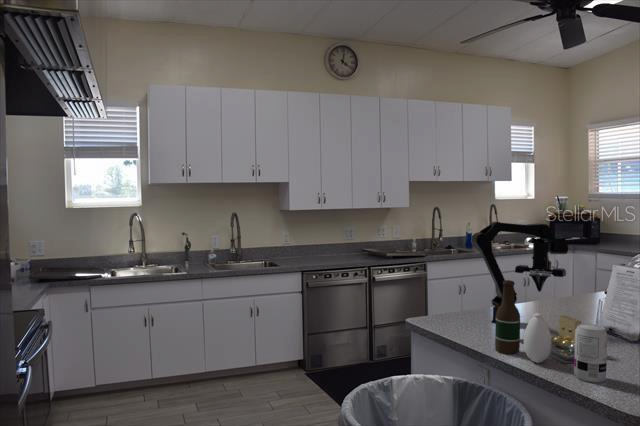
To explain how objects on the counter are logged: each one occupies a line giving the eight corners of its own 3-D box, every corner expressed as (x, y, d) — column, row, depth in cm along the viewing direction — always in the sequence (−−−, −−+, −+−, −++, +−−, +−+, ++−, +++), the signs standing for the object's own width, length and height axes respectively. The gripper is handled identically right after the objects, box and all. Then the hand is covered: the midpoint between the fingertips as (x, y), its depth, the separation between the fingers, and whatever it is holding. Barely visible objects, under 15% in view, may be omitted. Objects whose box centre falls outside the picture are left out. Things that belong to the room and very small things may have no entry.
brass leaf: (550, 344, 177) (550, 316, 177) (564, 343, 178) (565, 315, 178) (565, 351, 170) (566, 321, 169) (580, 350, 171) (581, 321, 170)
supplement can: (568, 373, 151) (569, 323, 150) (594, 372, 152) (595, 323, 151) (584, 383, 143) (586, 330, 142) (612, 383, 143) (614, 330, 143)
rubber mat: (516, 340, 185) (516, 339, 184) (553, 338, 187) (553, 337, 187) (564, 364, 159) (564, 363, 159) (605, 361, 162) (605, 360, 162)
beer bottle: (519, 349, 174) (520, 279, 173) (520, 356, 167) (521, 283, 166) (495, 346, 177) (496, 278, 176) (495, 353, 169) (496, 282, 168)
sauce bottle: (518, 360, 162) (519, 304, 162) (534, 356, 166) (535, 302, 166) (539, 367, 156) (540, 309, 155) (555, 363, 160) (557, 306, 159)
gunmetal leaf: (550, 353, 168) (551, 343, 168) (574, 352, 170) (575, 341, 170) (565, 360, 161) (565, 349, 161) (590, 359, 163) (590, 348, 163)
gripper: (569, 254, 210) (568, 291, 211) (523, 250, 222) (522, 286, 223) (562, 256, 202) (561, 295, 202) (514, 252, 213) (514, 289, 214)
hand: (539, 291), depth 211 cm, fingers closed
